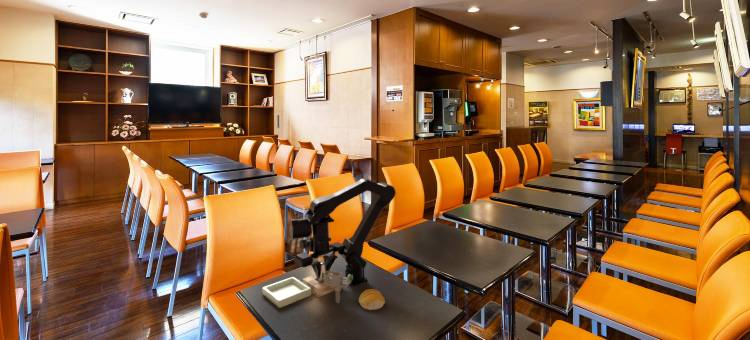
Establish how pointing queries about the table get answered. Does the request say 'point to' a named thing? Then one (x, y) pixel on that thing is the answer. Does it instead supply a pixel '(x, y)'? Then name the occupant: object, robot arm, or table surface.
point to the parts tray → (286, 291)
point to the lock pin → (323, 270)
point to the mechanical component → (336, 281)
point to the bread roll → (371, 299)
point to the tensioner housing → (317, 286)
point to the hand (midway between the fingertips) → (322, 276)
